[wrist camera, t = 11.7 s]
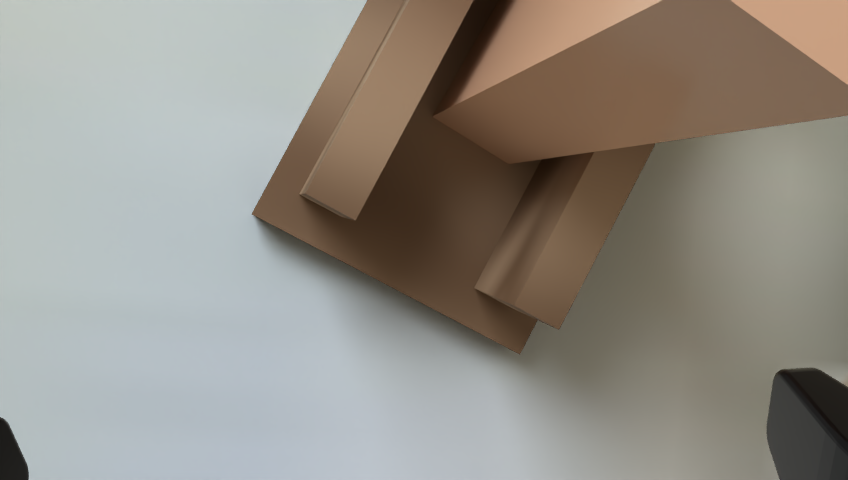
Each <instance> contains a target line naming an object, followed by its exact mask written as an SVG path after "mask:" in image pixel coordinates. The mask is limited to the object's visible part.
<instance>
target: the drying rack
mask: <svg viewBox="0 0 848 480" xmlns="http://www.w3.org/2000/svg"><path fill="white" fill-rule="evenodd" d="M498 2H499V0H367V2H366V4H365V6H364V8H363V10H362V11H361V13H360V15H359V17H358V19H357V21H356V23H355V24H354V26H353V28H352V30H351V32H350V34H349V35H348V37H347V39H346V41H345V43H344V45H343V47H342V48H341V50H340V52H339V54H338V56H337V58H336V59H335V61H334V63H333V65H332V67H331V69H330V71H329V72H328V74H327V76H326V78H325V80H324V82H323V83H322V85H321V87H320V89H319V91H318V93H317V94H316V96H315V98H314V100H313V102H312V104H311V106H310V107H309V109H308V111H307V113H306V115H305V117H304V118H303V120H302V122H301V124H300V126H299V128H298V130H297V131H296V133H295V135H294V137H293V139H292V141H291V142H290V144H289V146H288V148H287V150H286V152H285V154H284V155H283V157H282V159H281V161H280V163H279V165H278V166H277V168H276V170H275V172H274V174H273V176H272V177H271V179H270V181H269V183H268V185H267V187H266V189H265V190H264V192H263V194H262V196H261V198H260V200H259V201H258V203H257V205H256V207H255V209H254V211H253V213H252V215H254V216H256V217H258V218H260V219H262V220H264V221H266V222H268V223H270V224H271V225H273V226H275V227H277V228H279V229H281V230H283V231H285V232H287V233H289V234H291V235H292V236H294V237H296V238H298V239H300V240H302V241H304V242H306V243H308V244H310V245H312V246H313V247H315V248H317V249H319V250H321V251H323V252H325V253H327V254H329V255H331V256H333V257H335V258H336V259H338V260H340V261H342V262H344V263H346V264H348V265H350V266H352V267H354V268H356V269H357V270H359V271H361V272H363V273H365V274H367V275H369V276H371V277H373V278H375V279H377V280H378V281H380V282H382V283H384V284H386V285H388V286H390V287H392V288H394V289H396V290H398V291H400V292H401V293H403V294H405V295H407V296H409V297H411V298H413V299H415V300H417V301H419V302H421V303H422V304H424V305H426V306H428V307H430V308H432V309H434V310H436V311H438V312H440V313H442V314H443V315H445V316H447V317H449V318H451V319H453V320H455V321H457V322H459V323H461V324H463V325H465V326H466V327H468V328H470V329H472V330H474V331H476V332H478V333H480V334H482V335H484V336H486V337H487V338H489V339H491V340H493V341H495V342H497V343H499V344H501V345H503V346H505V347H507V348H508V349H510V350H512V351H514V352H516V353H518V354H520V353H521V351H522V349H523V347H524V345H525V343H526V341H527V340H528V338H529V336H530V334H531V332H532V330H533V328H534V326H535V324H536V322H537V320H539V321H541V322H543V323H546V324H548V325H550V326H552V327H554V328H556V329H560V327H561V325H562V323H563V321H564V319H565V317H566V315H567V313H568V311H569V309H570V307H571V306H572V304H573V302H574V300H575V298H576V296H577V294H578V292H579V290H580V288H581V286H582V284H583V282H584V280H585V279H586V277H587V275H588V273H589V271H590V269H591V267H592V265H593V263H594V261H595V259H596V257H597V255H598V253H599V252H600V250H601V248H602V246H603V244H604V242H605V240H606V238H607V236H608V234H609V232H610V230H611V228H612V226H613V225H614V223H615V221H616V219H617V217H618V215H619V213H620V211H621V209H622V207H623V205H624V203H625V201H626V199H627V198H628V196H629V194H630V192H631V190H632V188H633V186H634V184H635V182H636V180H637V178H638V176H639V174H640V172H641V171H642V169H643V167H644V165H645V163H646V161H647V159H648V157H649V155H650V153H651V151H652V149H653V147H654V145H655V143H652V144H645V145H638V146H631V147H624V148H617V149H610V150H603V151H596V152H590V153H583V154H576V155H569V156H562V157H555V158H548V159H541V160H534V161H527V162H520V163H513V164H507V163H506V162H504V161H503V160H501V159H499V158H498V157H496V156H495V155H493V154H491V153H490V152H488V151H486V150H485V149H483V148H482V147H480V146H478V145H477V144H475V143H474V142H472V141H470V140H469V139H467V138H466V137H464V136H462V135H461V134H459V133H458V132H456V131H454V130H453V129H451V128H450V127H448V126H446V125H445V124H443V123H442V122H440V121H438V120H437V119H435V118H434V117H432V116H433V114H434V112H435V111H436V109H437V107H438V105H439V104H440V102H441V100H442V99H443V97H444V95H445V93H446V92H447V90H448V88H449V86H450V85H451V83H452V81H453V80H454V78H455V76H456V74H457V73H458V71H459V69H460V67H461V66H462V64H463V62H464V60H465V59H466V57H467V55H468V54H469V52H470V50H471V48H472V47H473V45H474V43H475V41H476V40H477V38H478V36H479V34H480V33H481V31H482V29H483V28H484V26H485V24H486V22H487V21H488V19H489V17H490V15H491V14H492V12H493V10H494V9H495V7H496V5H497V3H498Z"/></svg>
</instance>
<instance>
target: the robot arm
mask: <svg viewBox="0 0 848 480" xmlns="http://www.w3.org/2000/svg"><path fill="white" fill-rule="evenodd" d="M767 440H768V444H769V448H770V451H771V454H772V457H773V461H774V464H775V467H776V470H777V473H778V476H779V479H780V480H848V387H847V386H845V385H844V384H842V383H840V382H839V381H837V380H835V379H834V378H832V377H831V376H829V375H827V374H826V373H824V372H822V371H820V370H818V369H816V368H796V369H782V370H780V371H779V372H777V373H776V375H775V377H774V380H773V385H772V392H771V399H770V406H769V413H768V420H767ZM0 480H29V472H28V466H27V463H26V461H25V459H24V457H23V455H22V452H21V450H20V448H19V446H18V443H17V441H16V439H15V437H14V435H13V432H12V430H11V428H10V426H9V424H8V422H7V421H5V420H4V419H3V418H1V417H0Z"/></svg>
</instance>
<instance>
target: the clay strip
mask: <svg viewBox="0 0 848 480" xmlns="http://www.w3.org/2000/svg"><path fill="white" fill-rule="evenodd" d="M841 116H848V0H499V2H498V3H497V5H496V7H495V9H494V10H493V12H492V14H491V15H490V17H489V19H488V21H487V22H486V24H485V26H484V28H483V29H482V31H481V33H480V34H479V36H478V38H477V40H476V41H475V43H474V45H473V47H472V48H471V50H470V52H469V54H468V55H467V57H466V59H465V60H464V62H463V64H462V66H461V67H460V69H459V71H458V73H457V74H456V76H455V78H454V80H453V81H452V83H451V85H450V86H449V88H448V90H447V92H446V93H445V95H444V97H443V99H442V100H441V102H440V104H439V105H438V107H437V109H436V111H435V112H434V114H433V116H432V117H434V118H435V119H437V120H438V121H440V122H442V123H443V124H445V125H446V126H448V127H450V128H451V129H453V130H454V131H456V132H458V133H459V134H461V135H462V136H464V137H466V138H467V139H469V140H470V141H472V142H474V143H475V144H477V145H478V146H480V147H482V148H483V149H485V150H486V151H488V152H490V153H491V154H493V155H495V156H496V157H498V158H499V159H501V160H503V161H504V162H506V163H507V164H513V163H520V162H527V161H534V160H541V159H548V158H555V157H562V156H569V155H576V154H583V153H590V152H596V151H603V150H610V149H617V148H624V147H631V146H638V145H645V144H652V143H659V142H666V141H673V140H680V139H687V138H694V137H701V136H708V135H715V134H722V133H729V132H736V131H743V130H750V129H757V128H764V127H771V126H778V125H785V124H792V123H799V122H806V121H813V120H820V119H827V118H834V117H841Z"/></svg>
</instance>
